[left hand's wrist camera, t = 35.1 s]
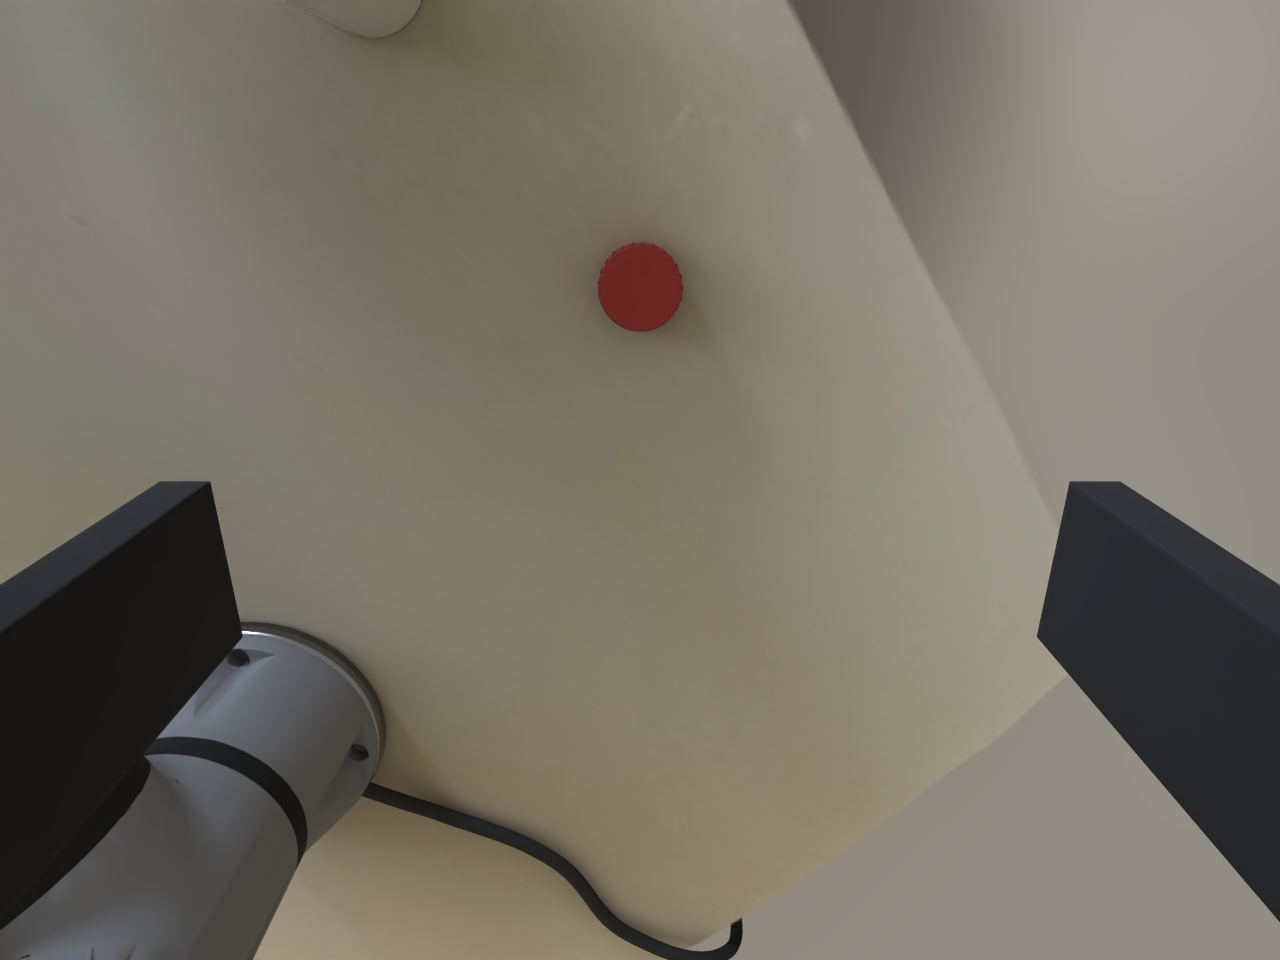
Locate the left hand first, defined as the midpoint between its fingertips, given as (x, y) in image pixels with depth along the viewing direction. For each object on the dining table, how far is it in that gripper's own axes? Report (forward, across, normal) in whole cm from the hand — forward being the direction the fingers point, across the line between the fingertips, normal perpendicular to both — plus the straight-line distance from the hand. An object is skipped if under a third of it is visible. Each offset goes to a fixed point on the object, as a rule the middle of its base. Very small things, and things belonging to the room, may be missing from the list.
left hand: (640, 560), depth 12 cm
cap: (+30, 0, 0) cm, 30 cm away
